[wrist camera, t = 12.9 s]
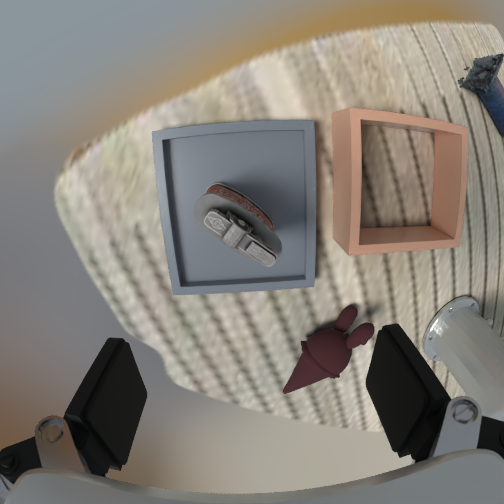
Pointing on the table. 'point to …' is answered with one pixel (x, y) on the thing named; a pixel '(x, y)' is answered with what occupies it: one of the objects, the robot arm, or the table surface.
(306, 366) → the icecream
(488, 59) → the dark blue piece
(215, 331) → the table surface
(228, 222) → the lighter
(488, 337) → the robot arm
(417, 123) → the pink open box
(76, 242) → the table surface
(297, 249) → the tray
